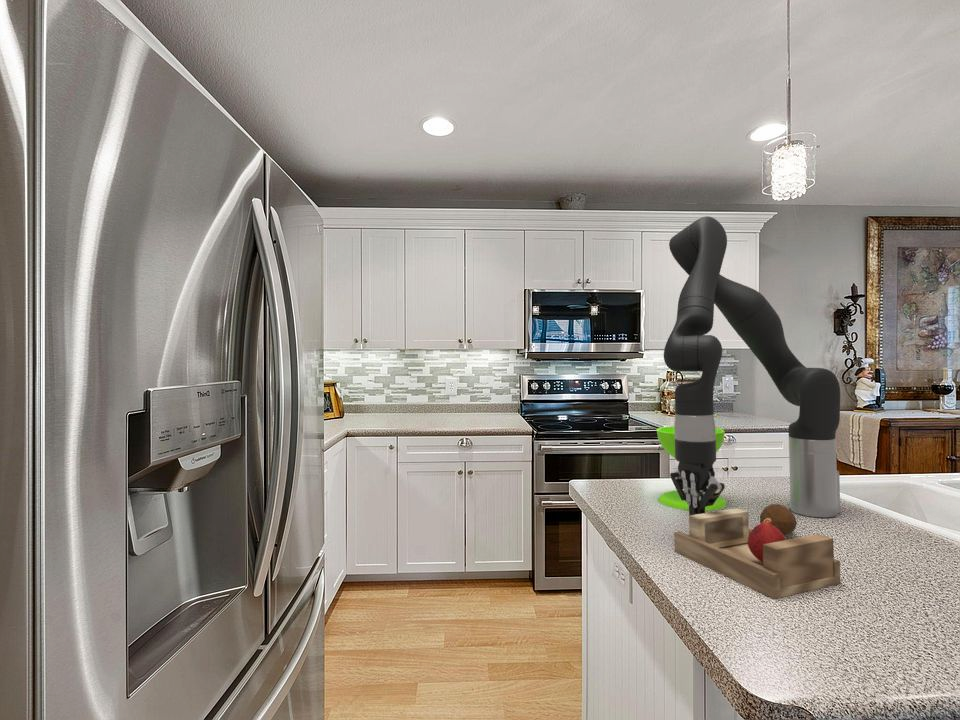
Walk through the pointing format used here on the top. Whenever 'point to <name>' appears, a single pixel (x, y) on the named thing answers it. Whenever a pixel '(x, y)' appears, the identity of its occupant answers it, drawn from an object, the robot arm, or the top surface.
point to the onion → (763, 537)
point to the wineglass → (668, 444)
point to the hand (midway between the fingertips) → (697, 525)
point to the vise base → (769, 563)
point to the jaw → (720, 527)
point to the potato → (780, 518)
